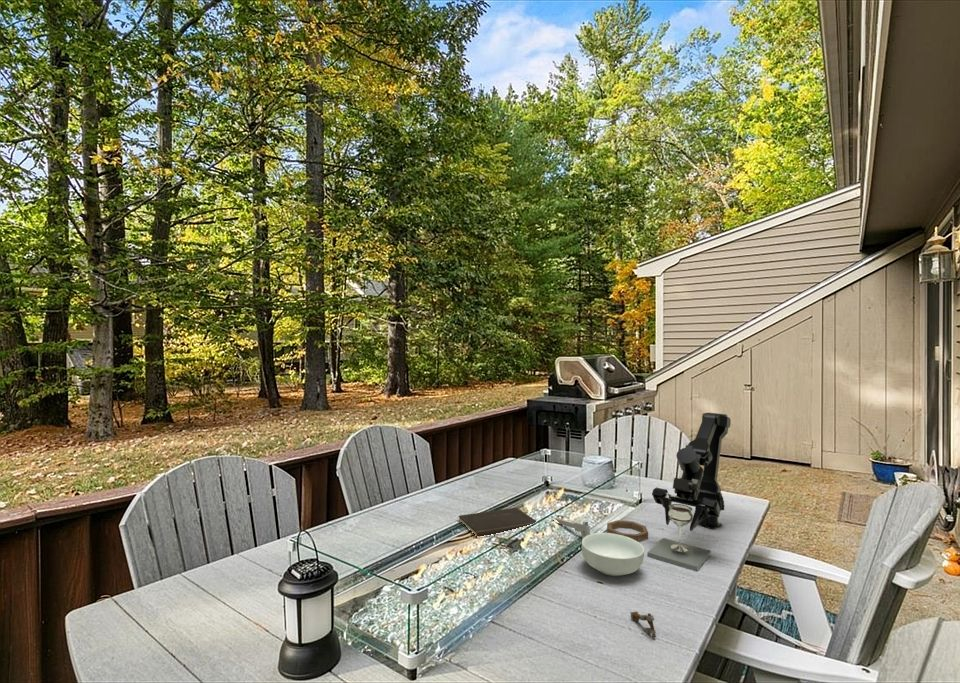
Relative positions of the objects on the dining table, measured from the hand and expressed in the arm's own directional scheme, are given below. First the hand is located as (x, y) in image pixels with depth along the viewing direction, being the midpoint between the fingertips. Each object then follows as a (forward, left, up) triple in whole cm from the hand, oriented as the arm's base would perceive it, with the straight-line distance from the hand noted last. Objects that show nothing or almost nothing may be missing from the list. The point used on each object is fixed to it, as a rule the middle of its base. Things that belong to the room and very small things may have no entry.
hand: (678, 527), depth 146 cm
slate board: (-1, 0, -9) cm, 9 cm away
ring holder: (-1, -19, -9) cm, 21 cm away
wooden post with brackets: (+39, +17, -9) cm, 43 cm away
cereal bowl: (+23, -5, -9) cm, 25 cm away
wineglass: (-1, 0, -7) cm, 7 cm away
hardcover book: (+30, -48, -10) cm, 58 cm away
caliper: (+13, -31, -9) cm, 35 cm away
